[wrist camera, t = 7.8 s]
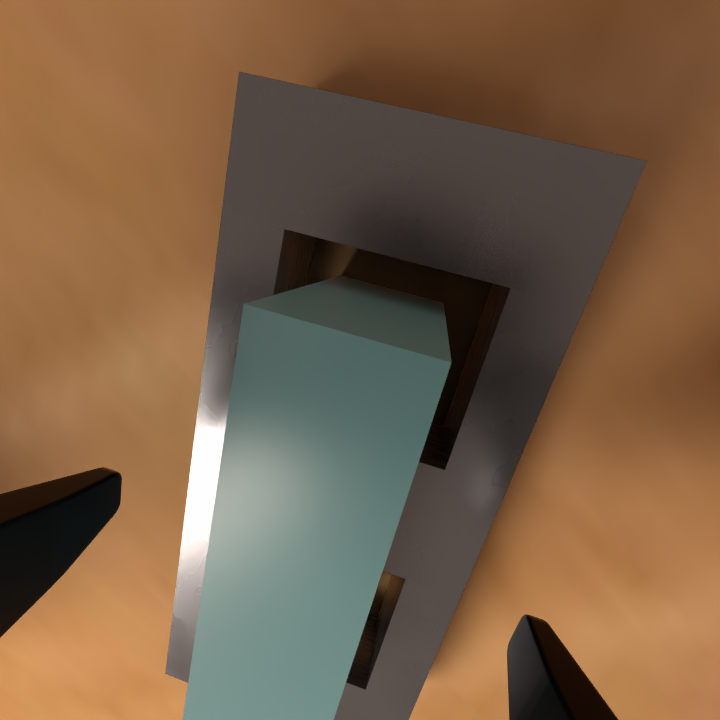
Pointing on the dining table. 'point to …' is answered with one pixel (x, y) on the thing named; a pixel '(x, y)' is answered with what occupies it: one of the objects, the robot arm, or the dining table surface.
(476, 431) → the plate with rectangular holes
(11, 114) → the dining table surface
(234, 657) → the teal u-shaped block
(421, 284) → the dining table surface
